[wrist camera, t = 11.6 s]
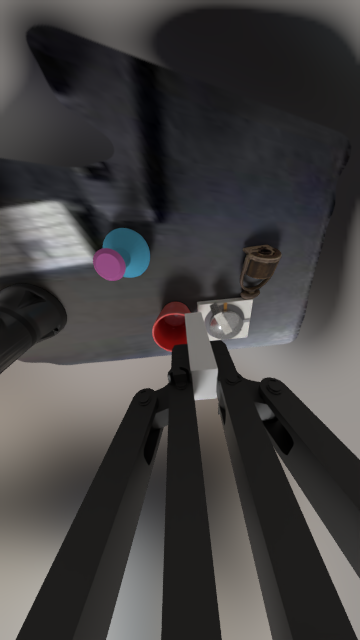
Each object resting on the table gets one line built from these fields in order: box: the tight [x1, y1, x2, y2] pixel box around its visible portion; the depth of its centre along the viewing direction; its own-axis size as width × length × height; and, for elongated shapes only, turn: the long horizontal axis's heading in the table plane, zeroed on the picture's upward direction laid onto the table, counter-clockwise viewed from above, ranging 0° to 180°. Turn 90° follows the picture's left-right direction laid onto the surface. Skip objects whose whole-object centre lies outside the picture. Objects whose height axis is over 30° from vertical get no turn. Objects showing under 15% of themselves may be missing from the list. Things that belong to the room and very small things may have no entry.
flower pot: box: [152, 302, 191, 352], centre depth 40 cm, size 11×11×10 cm
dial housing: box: [197, 297, 253, 341], centre depth 44 cm, size 14×12×2 cm
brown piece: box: [240, 245, 281, 299], centre depth 36 cm, size 7×13×10 cm
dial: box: [209, 302, 243, 340], centre depth 40 cm, size 12×8×7 cm
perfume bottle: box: [93, 228, 150, 281], centre depth 29 cm, size 9×9×15 cm
